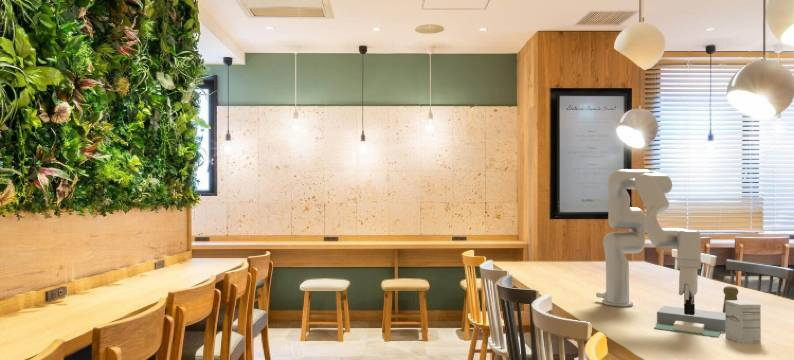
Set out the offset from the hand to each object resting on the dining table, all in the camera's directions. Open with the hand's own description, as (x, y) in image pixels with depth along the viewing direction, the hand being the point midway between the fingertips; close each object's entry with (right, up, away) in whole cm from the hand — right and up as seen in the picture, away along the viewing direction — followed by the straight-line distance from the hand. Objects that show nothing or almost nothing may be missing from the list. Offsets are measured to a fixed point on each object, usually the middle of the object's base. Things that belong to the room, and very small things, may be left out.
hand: (689, 314), depth 197 cm
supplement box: (+8, -5, -18) cm, 20 cm away
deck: (+5, -5, +6) cm, 9 cm away
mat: (-3, -5, -5) cm, 7 cm away
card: (-3, -2, -5) cm, 6 cm away
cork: (+29, -6, +23) cm, 37 cm away
